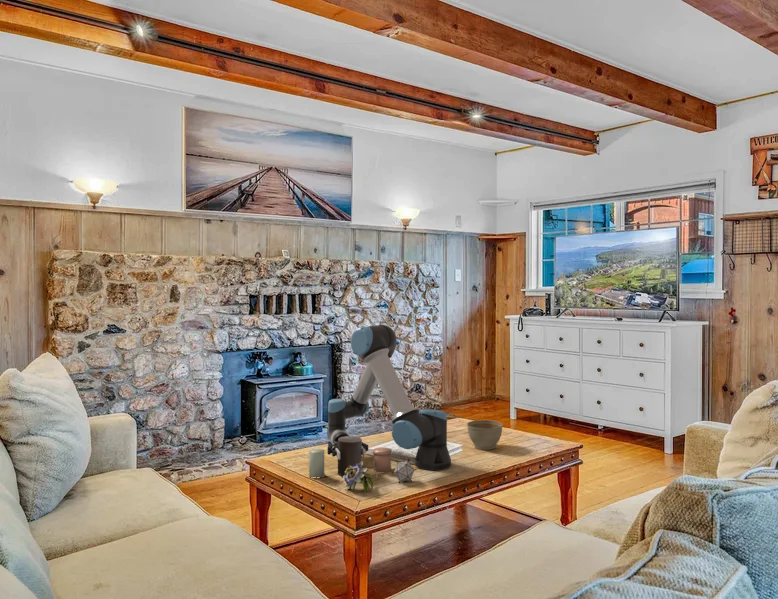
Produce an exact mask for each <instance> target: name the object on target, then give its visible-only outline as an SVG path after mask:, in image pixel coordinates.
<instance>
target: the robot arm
mask: <svg viewBox="0 0 778 599" xmlns="http://www.w3.org/2000/svg"><path fill="white" fill-rule="evenodd" d="M397 341H398V339H397V335H396V333H395V331H394V329H393V328H392V327H390V326H388V325H387V324H377V325H365V326H361V327H360V326H359V327H357V328H356V329H354V331H353V332H352V334H351V338H350V347H351V348H350V349H351V350H352V352H353V353H354V354H355V355H358V356H361V358H362V360H363V362H364V363H365V364H366V365H365V368H364V370H363V372H362V374H361V377H360V378H359V381H358V383H357V386H356V388H355V390H354V392H353V394H352V396H351V399H350V400H348V401H346V400H345V399H342V398H331V399H330V400H329V401H328V406H327V414H328V415H327V416H328V419H327V420H328V422H327V423H328V424H327V425H328V426H327V429H326V435H327V436H326V437H327V438H328V440H329V441H328V442H327V455H331V457H336V458H337V460H338V459H340V451H339V450H338V439H339V438H340V437H345V436H350V435H349V433H347V432H346V420H348V419H351V418H355V417H361V416H363V415H365V414H367V413H368V412H369V409H370V405H369V404H370V403H369V400H370V398H371V396H372V393H373V391H374V389H375V388H376V385H377V384H378V386H379V388H380V391H381V392H382V395H383V397H384V399H385V402H386V404H387V405H388V408H389V410H390V412H391V414H392V419H391V423H392V428H391V430H392V431H391V437H392V439H393V441H394V442H395V444H396V445H397V446H398V447H399V448H402V449H404V450H412V449H416V448H417V451H416V454H415V457H414V466H415V467H416V468H419V469H422V470H426V471H427V470H428V471H442V470H446V469H449V468H450V467H451V466H452V458H451V455H450V452H449V448H448V442H447V441H448V437H447V436H448V434H447V433H448V431H447V430H448V428H447V427H448V426H447V425H448V420H447V418H448V417H447V413H446V412H445V411H443V410H439V409H432V408H421V409H418V408H417V407H414V406H413V405H412V403H411V401H410V398H409V397H408V395H407V393H406V391H405V389H404V387H403V384H402V382H401V380H400V378H399V375H398V374H397V372H396V370H395V368H394V366H393V363H392V361H391V358H392V357H393V355H394V353H395V351H396V347H397ZM367 452H369V444H367V443H365V442H364V441H362V457H363V458H366V457H367Z"/></svg>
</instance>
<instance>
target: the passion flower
mask: <svg viewBox="0 0 778 599" xmlns="http://www.w3.org/2000/svg"><path fill="white" fill-rule="evenodd" d="M363 466H364V461H363V460H362V461H361V462H360V464H358V463H357V464H355V465H353V466H348V468H347V469H346V471H345V475H344V476H342V478H343V479H344V481H345V484H346V485H345V486H346V487H347V489H350V490H354V489H355V487H356V486H357V484H361V483H362V486H363V490H364V492H365V493H367V492H368V493H369V489H371V490H373V488H374V487H375V484H374V481H373V478H372V477H371V476H373V475H375V476H376V480H379V476H378V472H376V473H372V474H370V475H366V473H367V471H368V467H363ZM369 486H370V487H369Z"/></svg>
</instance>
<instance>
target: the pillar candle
mask: <svg viewBox="0 0 778 599" xmlns="http://www.w3.org/2000/svg"><path fill="white" fill-rule="evenodd" d="M362 442H363V438H361V437H359V436H354V435H353V436H352V435H349V436H345V437H340V438H339V439H338V450H339V451H340V459H338V458H337V474H338V475H340V476H342V477H343V476H344V475H345V471H346V469H347V468H348V466H353V465H355V464H357V463H358V464H360V462H361V461H363V460H362V457H363V455H362Z"/></svg>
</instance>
